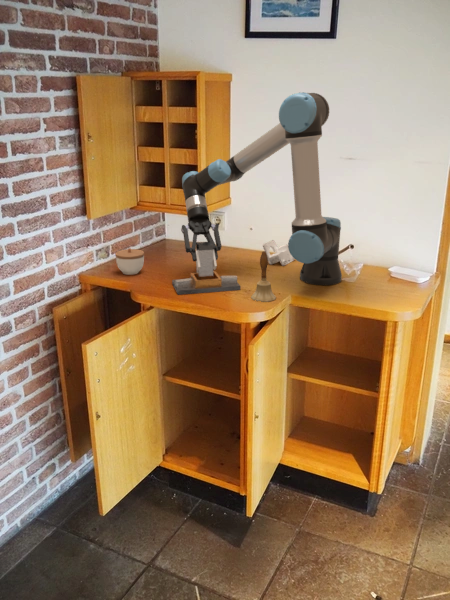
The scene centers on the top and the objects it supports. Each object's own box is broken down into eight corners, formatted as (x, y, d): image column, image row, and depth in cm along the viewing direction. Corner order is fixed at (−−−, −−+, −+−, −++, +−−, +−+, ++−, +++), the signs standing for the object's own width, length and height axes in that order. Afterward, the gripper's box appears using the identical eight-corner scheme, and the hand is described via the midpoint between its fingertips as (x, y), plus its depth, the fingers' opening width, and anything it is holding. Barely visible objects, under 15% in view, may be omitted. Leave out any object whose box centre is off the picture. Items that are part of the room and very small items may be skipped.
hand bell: (258, 303, 183) (259, 256, 177) (247, 295, 190) (247, 249, 184) (280, 300, 186) (282, 253, 180) (268, 292, 193) (270, 247, 187)
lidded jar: (144, 267, 220) (143, 244, 217) (145, 275, 210) (144, 251, 207) (116, 268, 218) (115, 245, 215) (116, 277, 208) (114, 252, 205)
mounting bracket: (284, 262, 234) (275, 238, 233) (297, 258, 230) (288, 234, 229) (271, 270, 224) (262, 244, 223) (284, 266, 220) (275, 240, 219)
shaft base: (231, 279, 206) (231, 269, 205) (240, 289, 195) (240, 278, 194) (172, 283, 201) (172, 273, 200) (177, 294, 190) (177, 283, 189)
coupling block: (210, 271, 200) (210, 241, 196) (213, 275, 195) (213, 245, 191) (196, 272, 198) (196, 242, 195) (199, 276, 194) (199, 246, 190)
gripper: (219, 216, 207) (230, 271, 198) (171, 218, 203) (179, 275, 193) (223, 204, 200) (234, 261, 191) (173, 206, 196) (182, 264, 187)
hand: (207, 268), depth 192 cm, fingers closed on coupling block, 5 cm apart
